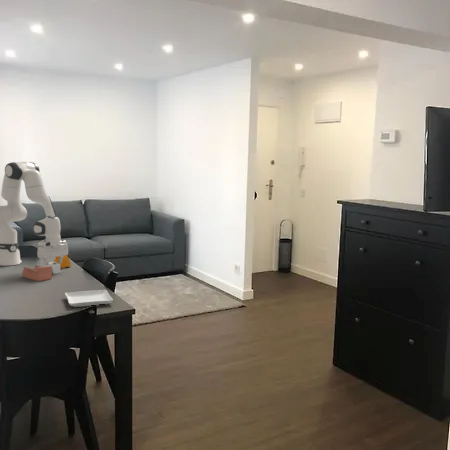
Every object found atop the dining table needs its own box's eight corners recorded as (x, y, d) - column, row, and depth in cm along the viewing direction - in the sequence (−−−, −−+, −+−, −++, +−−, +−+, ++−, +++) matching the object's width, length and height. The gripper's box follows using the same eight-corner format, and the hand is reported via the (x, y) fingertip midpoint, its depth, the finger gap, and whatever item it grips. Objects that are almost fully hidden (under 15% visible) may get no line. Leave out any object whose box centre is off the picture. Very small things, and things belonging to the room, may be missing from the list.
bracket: (69, 265, 336) (69, 247, 335) (70, 267, 330) (70, 249, 328) (52, 265, 332) (52, 248, 331) (53, 268, 326) (53, 250, 324)
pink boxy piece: (22, 276, 299) (22, 264, 298) (36, 274, 306) (36, 262, 305) (38, 281, 289) (38, 268, 288) (51, 278, 297) (51, 266, 296)
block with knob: (45, 272, 314) (45, 262, 313) (52, 271, 318) (52, 261, 317) (53, 274, 309) (53, 264, 308) (60, 273, 313) (60, 263, 312)
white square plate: (69, 309, 238) (69, 302, 238) (64, 298, 258) (64, 291, 257) (113, 306, 247) (113, 299, 246) (105, 295, 266) (105, 289, 266)
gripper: (64, 239, 321) (64, 261, 322) (35, 243, 305) (36, 265, 306) (70, 240, 317) (70, 262, 319) (41, 244, 301) (42, 266, 302)
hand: (53, 263), depth 312 cm, fingers open, 8 cm apart
